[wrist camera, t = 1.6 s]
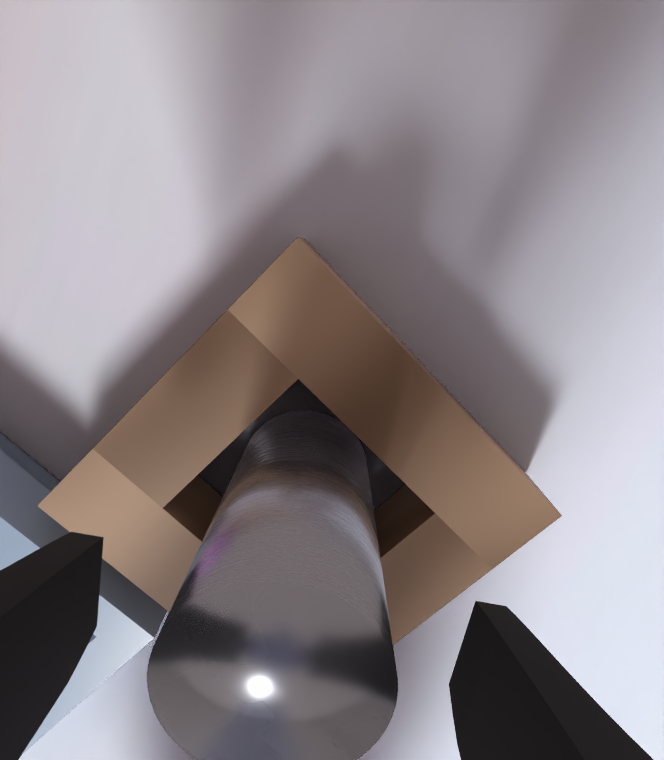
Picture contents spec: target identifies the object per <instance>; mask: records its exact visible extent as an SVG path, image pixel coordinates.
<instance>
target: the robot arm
mask: <svg viewBox="0 0 664 760" xmlns="http://www.w3.org/2000/svg"><path fill="white" fill-rule="evenodd" d="M103 539H104V537H100V536H94V535H88V534H82V533H76V532H70V533H68V534H66V535H64V536H62V537H60V538H58V539H56V540H54V541H52V542H51V543H49V544H47V545H45V546H43V547H42V548H40V549H38V550H36V551H34V552H33V553H31V554H29V555H27V556H25V557H24V558H22V559H20V560H18V561H16V562H15V563H13V564H11V565H9V566H8V567H6V568H4V569H2V570H0V760H18V759H19V758H20V756H21V755H22V753H23V752H24V750H25V749H26V747H27V746H28V744H29V743H30V741H31V740H32V738H33V736H34V735H35V733H36V732H37V730H38V729H39V727H40V726H41V724H42V723H43V721H44V720H45V718H46V716H47V715H48V713H49V712H50V710H51V709H52V707H53V706H54V704H55V703H56V701H57V699H58V698H59V696H60V695H61V693H62V692H63V690H64V688H65V687H66V685H67V684H68V682H69V680H70V678H71V676H72V675H73V673H74V671H75V669H76V667H77V665H78V663H79V661H80V659H81V657H82V655H83V653H84V651H85V649H86V647H87V645H88V643H89V641H90V639H91V637H92V635H93V633H94V631H95V629H96V627H97V619H98V606H99V592H100V579H101V566H102V552H103ZM449 688H450V696H451V704H452V711H453V718H454V725H455V731H456V738H457V744H458V748H459V752H460V757H461V760H653V759H652V758H651V757H650V756H649V755H648V754H647V753H646V752H645V751H644V750H643V749H642V748H641V747H640V746H639V745H638V744H637V743H636V742H635V741H634V740H633V739H632V738H631V737H630V736H629V735H628V734H627V733H626V732H625V731H624V730H623V729H622V728H621V727H620V726H619V725H618V724H617V723H616V722H615V721H614V720H613V719H612V718H611V717H610V716H609V715H608V714H607V713H606V712H605V711H604V710H603V709H602V708H601V707H600V706H599V704H598V703H597V702H596V701H595V700H594V699H593V698H592V697H591V696H590V695H589V694H588V693H587V692H586V691H585V690H584V689H583V688H582V687H581V685H580V684H579V683H578V682H577V681H576V680H575V679H574V678H573V677H572V676H571V675H570V674H569V673H568V672H567V670H566V669H565V668H564V667H563V666H562V665H561V664H560V663H559V662H558V661H557V660H556V658H555V657H554V656H553V655H552V654H551V653H550V652H549V651H548V650H547V649H546V648H545V647H544V645H543V644H542V643H541V642H540V641H539V640H538V639H537V638H536V637H535V636H534V635H533V633H532V632H531V631H530V630H529V629H528V628H527V627H526V626H525V625H524V624H523V623H522V622H521V621H520V620H519V619H518V618H517V616H516V615H515V614H514V613H513V612H512V611H511V610H510V609H508V608H507V607H506V606H501V605H496V604H490V603H484V602H478V601H476V602H475V605H474V608H473V611H472V614H471V617H470V620H469V623H468V627H467V630H466V633H465V636H464V639H463V642H462V645H461V648H460V651H459V655H458V658H457V661H456V664H455V667H454V670H453V673H452V676H451V679H450V683H449Z"/></svg>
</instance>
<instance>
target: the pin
mask: <svg viewBox="0 0 664 760" xmlns="http://www.w3.org/2000/svg"><path fill="white" fill-rule="evenodd" d="M147 683H148V691H149V697H150V701H151V704H152V706H153V709H154V712H155V714H156V716H157V718H158V720H159V722H160V723H161V725H162V726H163V728H164V729H165V731H166V732H167V733H168V735H169V736H170V737H171V738H172V739H173V740H174V741H175V742H176V743H177V744H178V745H179V746H180V747H181V748H182V749H183V750H184V751H186V752H187V753H188V754H189V755H191V756H192V757H194V758H195V759H197V760H357V759H358V758H359V757H361V756H362V755H363V754H364V753H366V752H367V751H368V750H369V749H370V748H371V747H372V746H373V745H374V744H375V743H376V742H377V741H378V740H379V738H380V737H381V735H382V734H383V732H384V731H385V730H386V728H387V726H388V724H389V722H390V720H391V718H392V715H393V712H394V709H395V706H396V700H397V693H398V679H397V671H396V664H395V657H394V650H393V643H392V636H391V629H390V622H389V615H388V608H387V601H386V594H385V587H384V580H383V572H382V565H381V558H380V551H379V544H378V537H377V530H376V523H375V516H374V509H373V502H372V495H371V488H370V481H369V474H368V467H367V460H366V455H365V452H364V449H363V447H362V445H361V443H360V441H359V439H358V438H357V437H356V435H355V434H354V433H353V432H352V431H351V430H350V429H349V428H348V427H347V426H346V425H345V424H344V423H342V422H341V421H339V420H338V419H336V418H334V417H332V416H330V415H327V414H324V413H321V412H316V411H307V410H300V411H291V412H287V413H283V414H280V415H278V416H276V417H274V418H272V419H270V420H268V421H267V422H265V423H264V424H263V425H262V426H261V427H259V428H258V430H257V431H256V432H255V433H254V434H253V436H252V437H251V438H250V440H249V442H248V444H247V446H246V448H245V450H244V453H243V455H242V457H241V459H240V461H239V463H238V465H237V468H236V470H235V472H234V474H233V476H232V478H231V481H230V483H229V485H228V487H227V489H226V491H225V493H224V496H223V498H222V500H221V502H220V504H219V506H218V509H217V511H216V513H215V515H214V517H213V519H212V521H211V524H210V526H209V528H208V530H207V532H206V534H205V537H204V539H203V541H202V543H201V545H200V547H199V549H198V552H197V554H196V556H195V558H194V560H193V562H192V565H191V567H190V569H189V571H188V573H187V575H186V578H185V580H184V582H183V584H182V586H181V588H180V590H179V593H178V595H177V597H176V599H175V601H174V603H173V606H172V608H171V610H170V612H169V614H168V616H167V618H166V621H165V623H164V625H163V627H162V629H161V631H160V634H159V636H158V638H157V640H156V642H155V644H154V646H153V649H152V652H151V656H150V659H149V664H148V671H147Z"/></svg>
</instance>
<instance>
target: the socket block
mask: <svg viewBox="0 0 664 760" xmlns="http://www.w3.org/2000/svg"><path fill="white" fill-rule="evenodd" d="M298 379H299V380H300V381H301V382H302V383H303V384H304V385H305V386H306V387H307V388H308V389H309V390H310V391H311V392H312V393H313V394H314V395H315V396H316V397H317V398H318V399H319V400H320V401H321V402H322V403H323V404H324V405H325V406H326V407H327V408H329V409H330V410H331V411H332V412H333V413H334V414H335V415H336V416H337V417H338V418H339V419H340V420H341V421H342V422H343V423H344V424H345V425H346V426H347V427H348V428H349V429H350V430H351V431H352V432H353V433H354V434H355V435H356V436H357V437H358V438H359V439H360V440H361V441H362V442H363V443H364V444H365V445H366V446H367V447H368V448H369V449H370V450H371V451H372V452H373V453H374V454H375V455H376V456H377V457H378V458H379V459H380V460H382V461H383V462H384V463H385V464H386V465H387V466H388V467H389V468H390V469H391V470H392V471H393V472H394V473H395V474H396V475H397V476H398V477H399V478H400V479H401V480H402V481H403V482H404V483H405V485H404V486H403V487H402V488H401V489H399V490H398V491H397V492H396V493H395V494H393V495H392V496H391V497H390V498H389V499H388V500H386V501H385V502H384V503H383V504H382V505H380V506H379V507H378V508H377V509H376V510H374V516H375V523H376V530H377V537H378V544H379V551H380V558H381V565H382V572H383V580H384V587H385V594H386V601H387V608H388V615H389V622H390V629H391V636H392V643H393V645H394V644H395V643H396V642H398V641H399V640H400V639H402V638H403V637H404V636H406V635H407V634H408V633H409V632H411V631H412V630H413V629H415V628H416V627H417V626H419V625H420V624H421V623H422V622H424V621H425V620H426V619H428V618H429V617H430V616H432V615H433V614H434V613H436V612H437V611H438V610H439V609H441V608H442V607H443V606H445V605H446V604H447V603H449V602H450V601H451V600H452V599H454V598H455V597H456V596H458V595H459V594H460V593H462V592H463V591H464V590H466V589H467V588H468V587H469V586H471V585H472V584H473V583H475V582H476V581H477V580H479V579H480V578H481V577H483V576H484V575H485V574H486V573H488V572H489V571H490V570H492V569H493V568H494V567H496V566H497V565H498V564H499V563H501V562H502V561H503V560H505V559H506V558H507V557H509V556H510V555H511V554H513V553H514V552H515V551H516V550H518V549H519V548H520V547H522V546H523V545H524V544H526V543H527V542H528V541H530V540H531V539H532V538H533V537H535V536H536V535H537V534H539V533H540V532H541V531H543V530H544V529H545V528H546V527H548V526H549V525H550V524H552V523H553V522H554V521H556V520H557V519H558V518H560V517H561V516H562V515H561V514H560V513H559V512H558V511H557V509H556V508H555V507H554V506H553V505H552V503H551V502H550V501H549V500H548V499H547V498H546V496H545V495H544V494H543V493H542V492H541V490H540V489H539V488H538V487H537V486H536V485H535V483H534V482H533V481H532V480H531V479H530V478H529V476H528V475H527V474H526V473H525V472H524V471H523V470H522V469H521V468H520V467H519V466H518V464H517V463H516V462H515V461H514V460H513V459H512V458H511V457H510V456H509V455H508V454H507V453H506V452H505V451H504V450H503V449H502V448H501V447H500V445H499V444H498V443H497V442H496V441H495V440H494V439H493V438H492V437H491V436H490V435H489V434H488V433H487V432H486V431H485V430H484V429H483V427H482V426H481V425H480V424H479V423H478V422H477V421H476V420H475V419H474V418H473V417H472V416H471V415H470V414H469V413H468V412H467V411H466V409H465V408H464V407H463V406H462V405H461V404H460V403H459V402H458V401H457V400H456V399H455V398H454V397H453V396H452V395H451V394H450V393H449V392H448V390H447V389H446V388H445V387H444V386H443V385H442V384H441V383H440V382H439V381H438V380H437V379H436V378H435V377H434V376H433V375H432V374H431V372H430V371H429V370H428V369H427V368H426V367H425V366H424V365H423V364H422V363H421V362H420V361H419V360H418V359H417V358H416V357H415V356H414V354H413V353H412V352H411V351H410V350H409V349H408V348H407V347H406V346H405V345H404V344H403V343H402V342H401V341H400V340H399V339H398V338H397V337H396V335H395V334H394V333H393V332H392V331H391V330H390V329H389V328H388V327H387V326H386V325H385V324H384V323H383V322H382V321H381V320H380V319H379V317H378V316H377V315H376V314H375V313H374V312H373V311H372V310H371V309H370V308H369V307H368V306H367V305H366V304H365V303H364V302H363V301H362V300H361V298H360V297H359V296H358V295H357V294H356V293H355V292H354V291H353V290H352V289H351V288H350V287H349V286H348V285H347V284H346V283H345V282H344V280H343V279H342V278H341V277H340V276H339V275H338V274H337V273H336V272H335V271H334V270H333V269H332V268H331V267H330V266H329V265H328V264H327V262H326V261H325V260H324V259H323V258H322V257H321V256H320V255H319V254H318V253H317V252H316V251H315V250H314V249H313V248H312V247H311V246H310V245H309V243H308V242H307V241H306V240H305V239H302V238H299V237H297V238H296V240H295V241H294V242H293V243H292V244H291V245H290V246H289V247H288V248H287V249H286V250H285V251H284V252H283V253H282V254H281V255H280V256H279V257H278V258H277V259H276V260H275V261H274V262H273V263H272V264H271V265H270V266H269V267H268V268H267V269H266V270H265V271H264V273H263V274H262V275H261V276H260V277H259V278H258V279H257V280H256V281H255V282H254V283H253V284H252V285H251V286H250V287H249V288H248V289H247V290H246V291H245V292H244V293H243V294H242V295H241V296H240V297H239V298H238V299H237V300H236V301H235V302H234V303H233V304H232V306H231V307H230V308H229V309H228V310H227V311H226V312H225V313H224V314H223V315H222V316H221V317H220V318H219V319H218V320H217V321H216V322H215V323H214V324H213V325H212V326H211V327H210V328H209V329H208V330H207V331H206V332H205V333H204V334H203V335H202V336H201V337H200V339H199V340H198V341H197V342H196V343H195V344H194V345H193V346H192V347H191V348H190V349H189V350H188V351H187V352H186V353H185V354H184V355H183V356H182V357H181V358H180V359H179V360H178V361H177V362H176V363H175V364H174V365H173V366H172V367H171V368H170V369H169V370H168V372H167V373H166V374H165V375H164V376H163V377H162V378H161V379H160V380H159V381H158V382H157V383H156V384H155V385H154V386H153V387H152V388H151V389H150V390H149V391H148V392H147V393H146V394H145V395H144V396H143V397H142V398H141V399H140V400H139V401H138V402H137V403H136V405H135V406H134V407H133V408H132V409H131V410H130V411H129V412H128V413H127V414H126V415H125V416H124V417H123V418H122V419H121V420H120V421H119V422H118V423H117V424H116V425H115V426H114V427H113V428H112V429H111V430H110V431H109V432H108V433H107V434H106V435H105V436H104V438H103V439H102V440H101V441H100V442H99V443H98V444H97V445H96V446H95V447H94V448H93V449H92V450H91V451H90V452H89V453H88V454H87V455H86V456H85V457H84V458H83V459H82V460H81V461H80V462H79V463H78V464H77V465H76V466H75V467H74V468H73V469H72V471H71V472H70V473H69V474H68V475H67V476H66V477H65V478H64V479H63V480H62V481H61V482H60V483H59V484H58V485H57V486H56V487H55V488H54V489H53V490H52V491H51V492H50V493H49V494H48V495H47V496H46V497H45V498H44V499H43V500H42V501H41V502H40V504H39V505H38V507H39V508H40V509H42V510H43V511H44V512H45V513H47V514H48V515H49V516H50V517H52V518H53V519H54V520H55V521H57V522H58V523H59V524H60V525H62V526H63V527H64V528H65V529H67V530H68V531H69V532H76V533H82V534H88V535H94V536H100V537H104V539H103V552H102V558H103V559H104V560H105V561H106V562H108V563H109V564H110V565H111V566H113V567H114V568H115V569H116V570H117V571H119V572H120V573H121V574H122V575H124V576H125V577H126V578H127V579H129V580H130V581H131V582H132V583H134V584H135V585H136V586H137V587H139V588H140V589H141V590H142V591H144V592H145V593H146V594H147V595H149V596H150V597H151V598H152V599H154V600H155V601H156V602H157V603H159V604H160V605H161V606H162V607H163V608H165V609H166V610H167V611H168V612H170V610H171V608H172V606H173V603H174V601H175V599H176V597H177V595H178V593H179V590H180V588H181V586H182V584H183V582H184V580H185V578H186V575H187V573H188V571H189V569H190V567H191V565H192V562H193V560H194V558H195V556H196V554H197V552H198V549H199V547H200V545H201V543H202V541H203V539H204V537H205V534H206V532H207V530H208V528H209V526H210V524H211V521H212V519H213V517H214V515H215V513H216V511H217V509H218V506H219V504H220V502H221V500H222V498H223V497H222V496H221V495H220V494H219V493H218V492H216V491H215V490H214V489H213V488H212V487H211V486H210V485H209V484H207V483H206V482H205V481H204V480H203V479H202V478H201V477H200V476H198V474H199V473H200V472H201V471H202V470H203V469H204V468H205V467H206V466H207V465H208V464H209V463H211V462H212V461H213V460H214V459H215V458H216V457H217V456H218V455H219V454H220V453H221V452H222V451H223V450H224V449H225V448H226V447H227V446H228V445H229V444H230V443H231V442H233V441H234V440H235V439H236V438H237V437H238V436H239V435H240V434H241V433H242V432H243V431H244V430H245V429H246V428H247V427H248V426H249V425H250V424H251V423H252V422H254V421H255V420H256V419H257V418H258V417H259V416H260V415H261V414H262V413H263V412H264V411H265V410H266V409H267V408H268V407H269V406H270V405H271V404H272V403H273V402H275V401H276V400H277V399H278V398H279V397H280V396H281V395H282V394H283V393H284V392H285V391H286V390H287V389H288V388H289V387H290V386H291V385H292V384H293V383H294V382H296V381H297V380H298Z"/></svg>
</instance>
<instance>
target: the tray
mask: <svg viewBox="0 0 664 760" xmlns="http://www.w3.org/2000/svg"><path fill="white" fill-rule="evenodd" d="M59 483H60V481H59V480H57V479H56V478H55V477H54V476H53V475H51V474H50V473H49V472H48V471H46V470H45V469H44V468H43V467H42V466H40V465H39V464H38V463H37V462H36V461H34V460H33V459H32V458H31V457H29V456H28V455H27V454H26V453H25V452H23V451H22V450H21V449H20V448H19V447H17V446H16V445H15V444H14V443H13V442H11V441H10V440H9V439H8V438H6V437H5V436H4V435H3V434H2V433H0V570H2V569H4V568H6V567H8V566H9V565H11V564H13V563H15V562H16V561H18V560H20V559H22V558H24V557H25V556H27V555H29V554H31V553H33V552H34V551H36V550H38V549H40V548H42V547H43V546H45V545H47V544H49V543H51V542H52V541H54V540H56V539H58V538H60V537H62V536H64V535H66V534H68V533H70V532H69V531H68V530H67V529H65V528H64V527H63V526H62V525H60V524H59V523H58V522H57V521H55V520H54V519H53V518H52V517H50V516H49V515H48V514H47V513H45V512H44V511H43V510H42V509H40V508H39V507H38V505H39V504H40V502H41V501H42V500H43V499H44V498H45V497H46V496H47V495H48V494H49V493H50V492H51V491H52V490H53V489H54V488H55V487H56V486H57V485H58V484H59ZM166 612H167V610H166V609H165V608H163V607H162V606H161V605H160V604H159V603H157V602H156V601H155V600H154V599H152V598H151V597H150V596H149V595H147V594H146V593H145V592H144V591H142V590H141V589H140V588H139V587H137V586H136V585H135V584H134V583H132V582H131V581H130V580H129V579H127V578H126V577H125V576H124V575H122V574H121V573H120V572H119V571H117V570H116V569H115V568H114V567H113V566H111V565H110V564H109V563H108V562H106V561H105V560H104V559H103V558H102V566H101V579H100V592H99V606H98V619H97V627H96V629H95V631H94V633H93V635H92V637H91V639H90V641H89V643H88V645H87V647H86V649H85V651H84V653H83V655H82V657H81V659H80V661H79V663H78V665H77V667H76V669H75V671H74V673H73V675H72V676H71V678H70V680H69V682H68V684H67V685H66V687H65V688H64V690H63V692H62V693H61V695H60V696H59V698H58V699H57V701H56V703H55V704H54V706H53V707H52V709H51V710H50V712H49V713H48V715H47V716H46V718H45V720H44V721H43V723H42V724H41V726H40V727H39V729H38V730H37V732H36V733H35V735H34V736H33V738H32V740H31V741H30V743H29V744H28V746H27V747H26V749H25V750H24V752H25V751H26V750H27V749H29V748H30V747H31V746H32V745H33V744H34V743H35V742H36V741H38V740H39V739H40V738H41V737H42V736H43V735H44V734H46V733H47V732H48V731H49V730H50V729H51V728H52V727H54V726H55V725H56V724H57V723H58V722H59V721H60V720H62V719H63V718H64V717H65V716H66V715H67V714H68V713H69V712H71V711H72V710H73V709H74V708H75V707H76V706H77V705H79V704H80V703H81V702H82V701H83V700H84V699H85V698H87V697H88V696H89V695H90V694H91V693H92V692H93V691H94V690H96V689H97V688H98V687H99V686H100V685H101V684H102V683H104V682H105V681H106V680H107V679H108V678H109V677H110V676H112V675H113V674H114V673H115V672H116V671H117V670H118V669H119V668H121V667H122V666H123V665H124V664H125V663H126V662H127V661H129V660H130V659H131V658H132V657H133V656H134V655H135V654H137V653H138V652H139V651H140V650H141V649H142V648H143V647H144V646H146V645H147V644H148V643H149V642H150V641H151V640H152V639H154V637H155V635H156V633H157V631H158V629H159V627H160V625H161V623H162V620H163V618H164V616H165V614H166ZM24 752H23V753H24ZM23 753H22V754H23Z"/></svg>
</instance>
